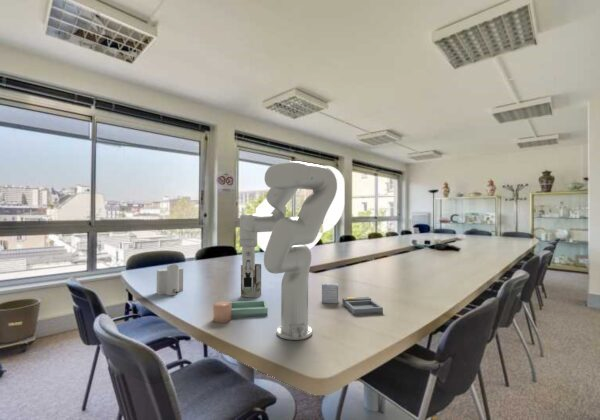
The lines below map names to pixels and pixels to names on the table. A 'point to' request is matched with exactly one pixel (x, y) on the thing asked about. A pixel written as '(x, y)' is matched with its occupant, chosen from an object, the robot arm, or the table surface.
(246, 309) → the green trapezoid tray
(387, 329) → the table surface
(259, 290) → the coffee box
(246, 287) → the cell
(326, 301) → the medicine box
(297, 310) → the robot arm
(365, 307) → the cradle
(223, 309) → the peach rounded dome
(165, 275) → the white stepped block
